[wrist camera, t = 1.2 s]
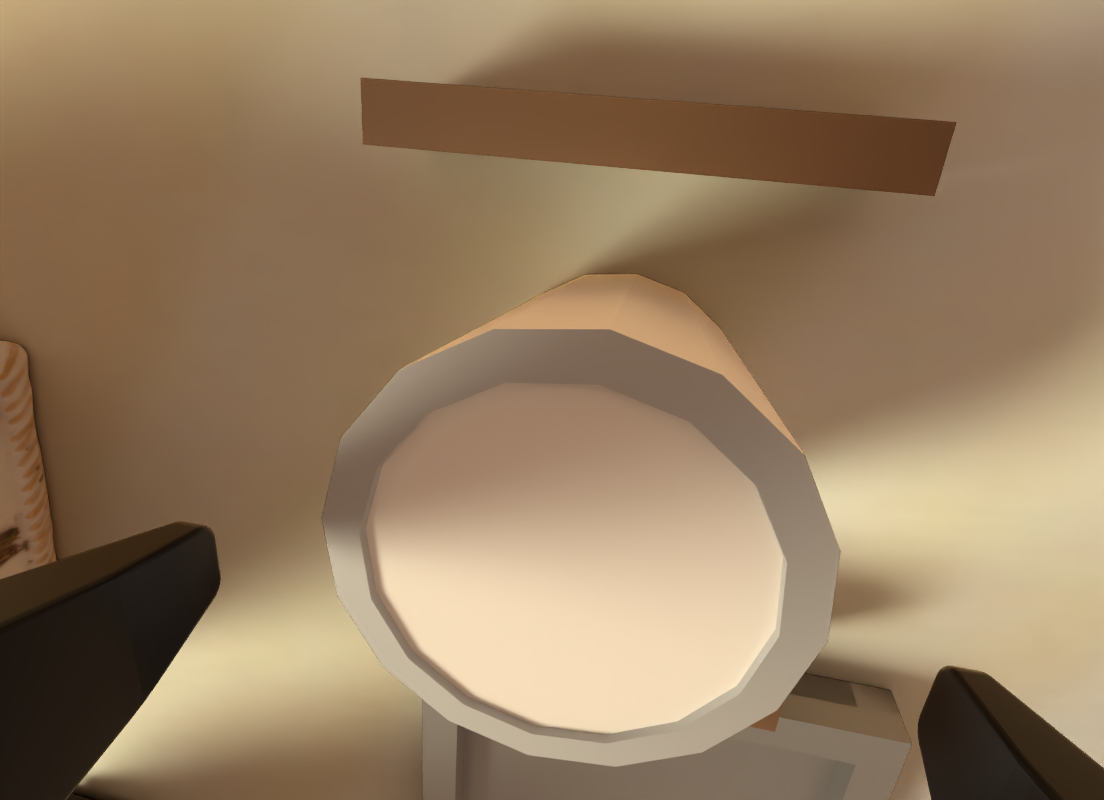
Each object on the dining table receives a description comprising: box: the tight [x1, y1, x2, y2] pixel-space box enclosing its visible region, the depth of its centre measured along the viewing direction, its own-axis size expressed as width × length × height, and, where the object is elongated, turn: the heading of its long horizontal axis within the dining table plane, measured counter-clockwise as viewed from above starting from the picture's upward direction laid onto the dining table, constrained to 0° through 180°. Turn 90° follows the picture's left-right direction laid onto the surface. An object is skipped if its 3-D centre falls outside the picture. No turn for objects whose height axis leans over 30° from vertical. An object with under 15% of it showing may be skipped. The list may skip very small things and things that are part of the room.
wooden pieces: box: [361, 78, 956, 732], centre depth 13 cm, size 12×9×3 cm
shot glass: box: [321, 274, 840, 767], centre depth 11 cm, size 7×7×7 cm
